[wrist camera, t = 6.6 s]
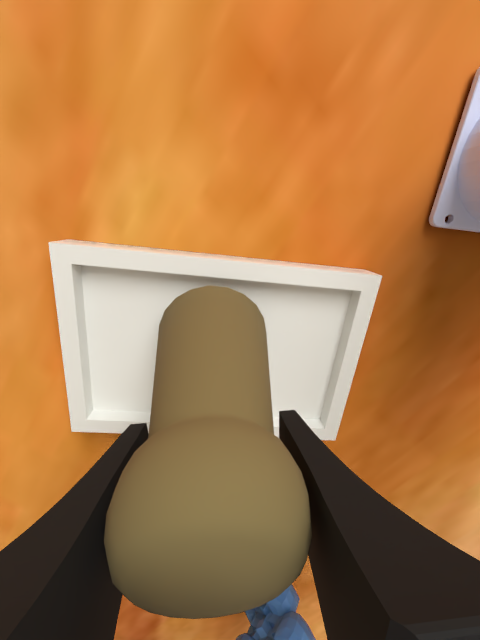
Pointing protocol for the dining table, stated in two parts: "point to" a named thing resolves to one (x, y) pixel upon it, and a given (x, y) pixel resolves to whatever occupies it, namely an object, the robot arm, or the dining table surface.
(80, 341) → the white tray
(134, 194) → the dining table surface
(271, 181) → the dining table surface
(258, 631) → the grapes
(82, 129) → the dining table surface
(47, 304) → the dining table surface
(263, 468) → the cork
